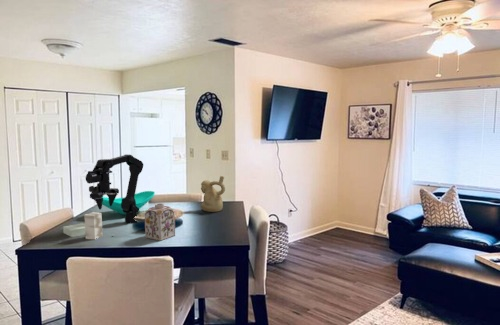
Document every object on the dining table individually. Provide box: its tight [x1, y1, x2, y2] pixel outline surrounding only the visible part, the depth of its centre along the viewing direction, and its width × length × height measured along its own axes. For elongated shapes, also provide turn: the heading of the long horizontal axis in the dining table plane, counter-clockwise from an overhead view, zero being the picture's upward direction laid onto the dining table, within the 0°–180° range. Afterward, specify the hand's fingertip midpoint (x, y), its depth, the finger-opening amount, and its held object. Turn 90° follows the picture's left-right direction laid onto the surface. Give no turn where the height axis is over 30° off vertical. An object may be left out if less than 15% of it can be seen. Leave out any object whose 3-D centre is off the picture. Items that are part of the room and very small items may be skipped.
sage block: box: [62, 222, 85, 238], centre depth 208 cm, size 12×12×4 cm
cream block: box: [83, 211, 104, 240], centre depth 198 cm, size 6×6×13 cm
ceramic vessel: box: [200, 175, 226, 213], centre depth 262 cm, size 17×20×25 cm
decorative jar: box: [144, 202, 176, 242], centre depth 199 cm, size 12×12×18 cm
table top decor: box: [102, 190, 156, 215], centre depth 256 cm, size 40×28×13 cm
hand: (105, 207), depth 213 cm, fingers open, 9 cm apart
